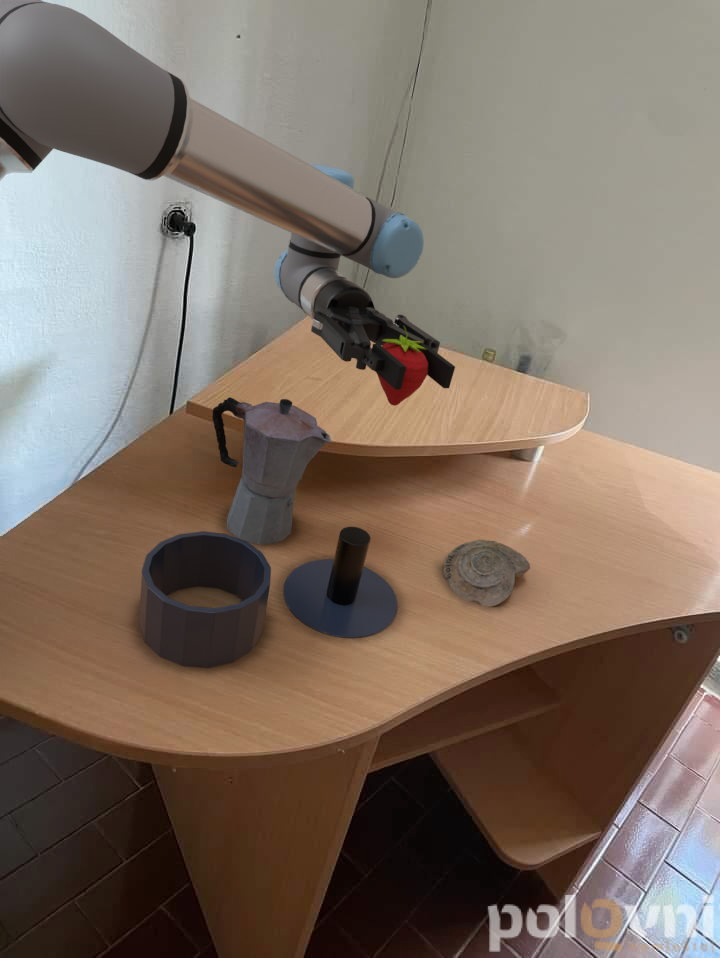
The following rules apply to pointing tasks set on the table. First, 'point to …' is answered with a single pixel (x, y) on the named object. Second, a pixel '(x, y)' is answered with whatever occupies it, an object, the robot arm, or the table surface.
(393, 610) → the pot lid
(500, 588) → the fossilized seashell
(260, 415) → the moka pot
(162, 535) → the table surface
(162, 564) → the pot
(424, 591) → the table surface
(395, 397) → the strawberry
